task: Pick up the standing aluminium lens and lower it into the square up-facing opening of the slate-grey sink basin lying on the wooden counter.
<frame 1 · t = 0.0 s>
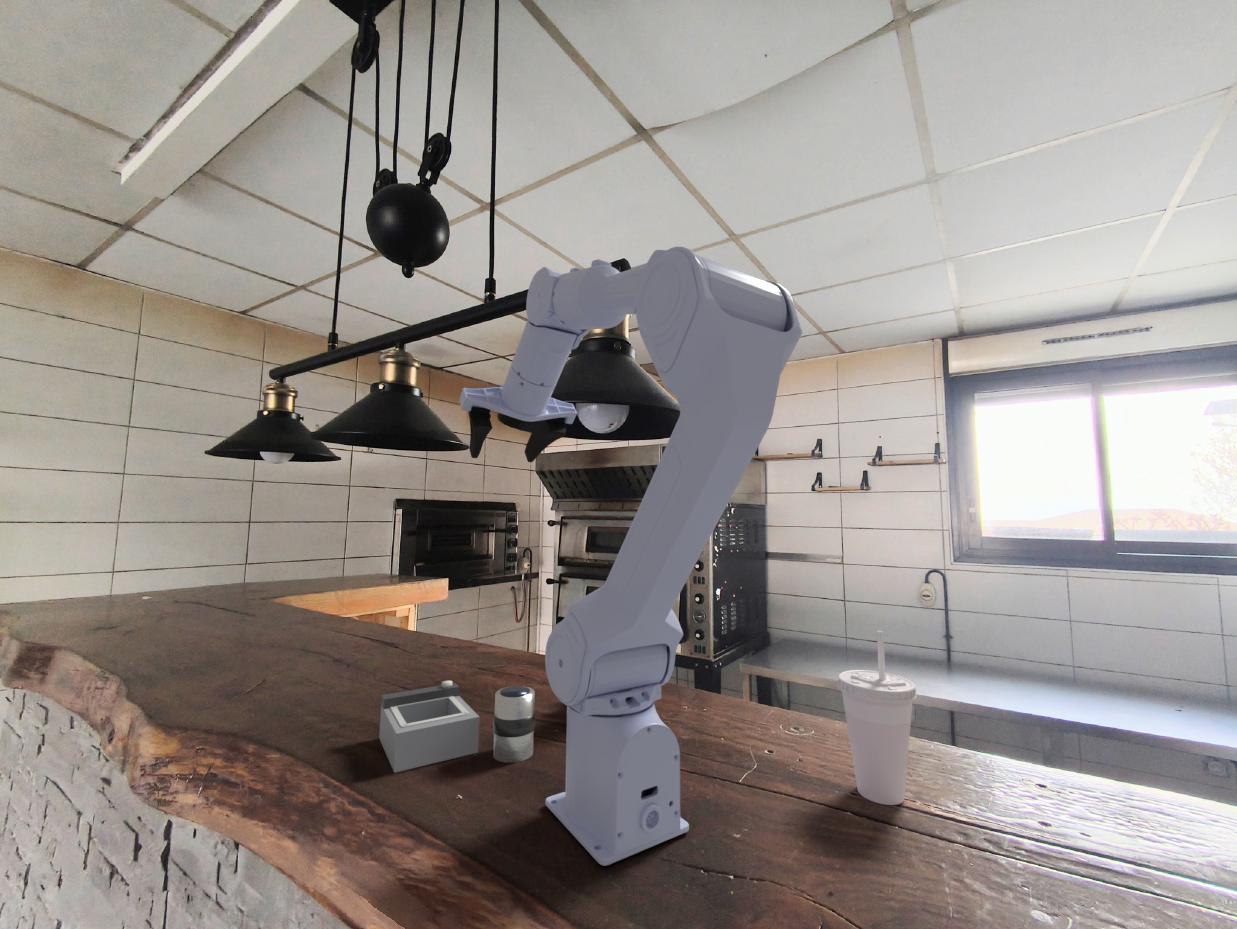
hand: (501, 455, 68), 32 cm above the table, tool tilted 50°, fingers open, 7 cm apart
lens: (513, 753, 52), on the table
smoothie: (880, 795, 45), on the table
grey sink basin: (427, 745, 54), on the table
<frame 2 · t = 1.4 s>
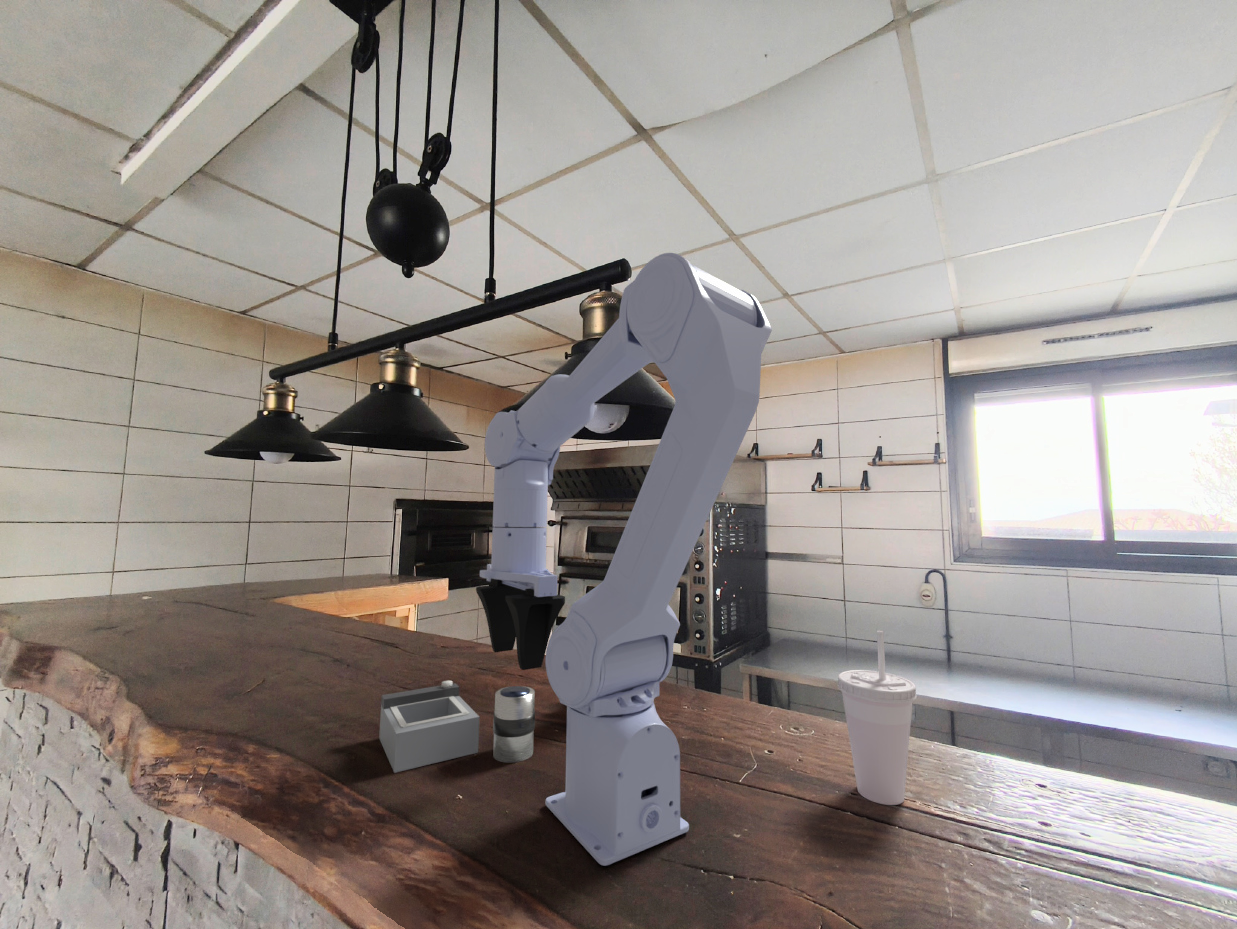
hand: (516, 658, 53), 9 cm above the table, tool pointing down, fingers open, 7 cm apart
nothing on the table moved.
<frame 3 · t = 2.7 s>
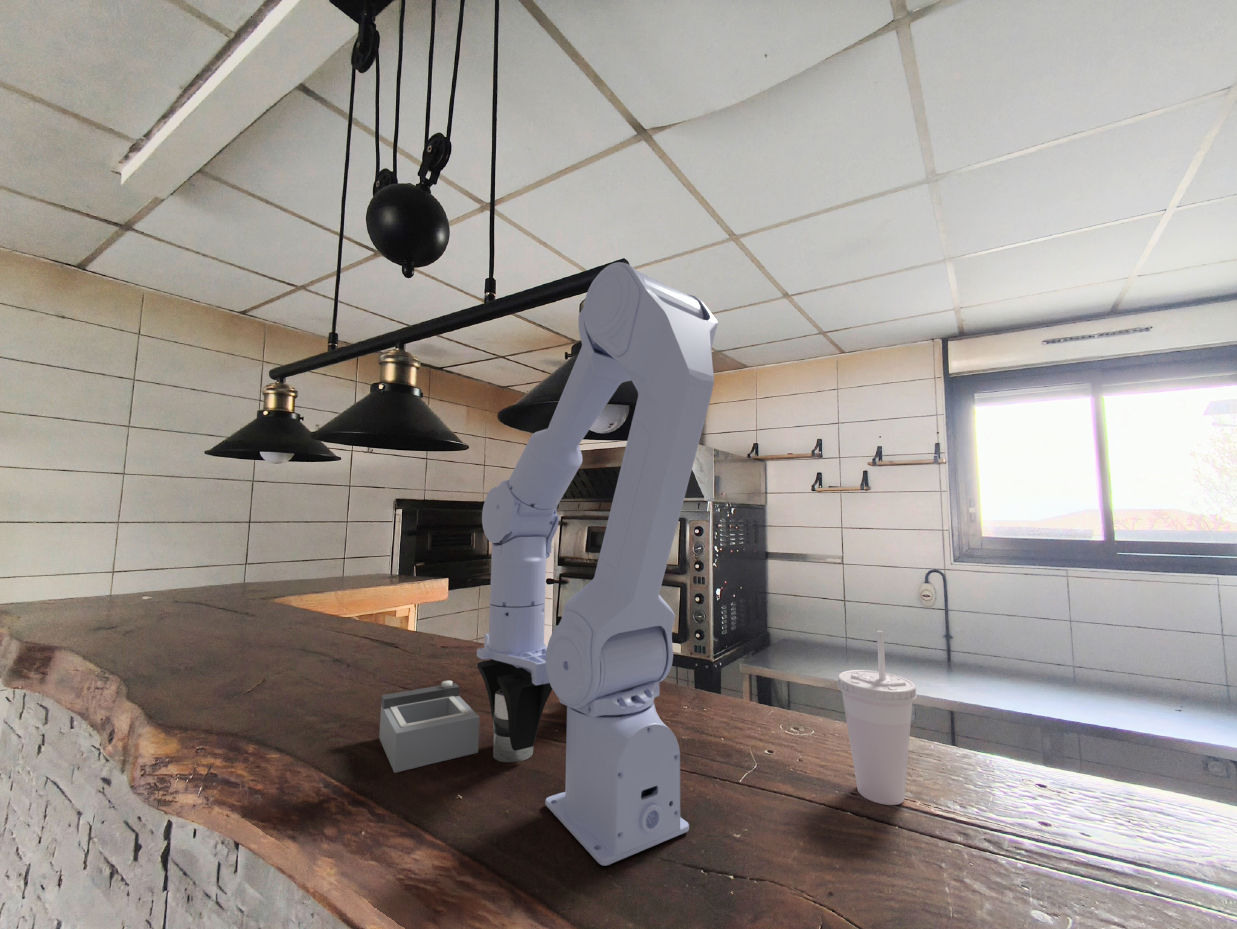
hand: (513, 738, 53), 1 cm above the table, tool pointing down, fingers closed on lens, 4 cm apart
lens: (513, 753, 52), on the table, touching gripper
everything else where it was.
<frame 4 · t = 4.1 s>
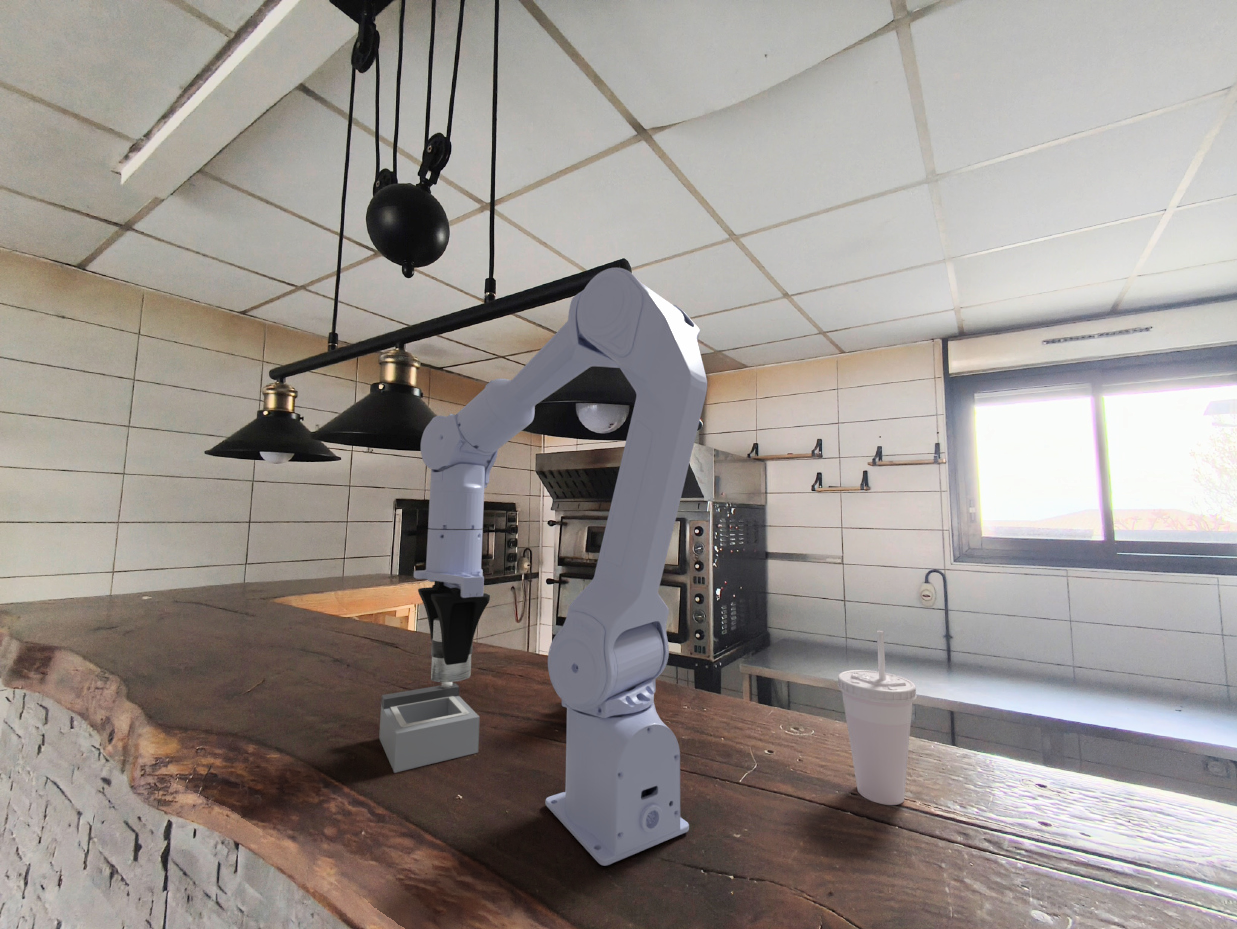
hand: (449, 657, 55), 9 cm above the table, tool pointing down, fingers closed on lens, 4 cm apart
lens: (451, 676, 55), point 7 cm above the table, touching gripper
everything else where it was.
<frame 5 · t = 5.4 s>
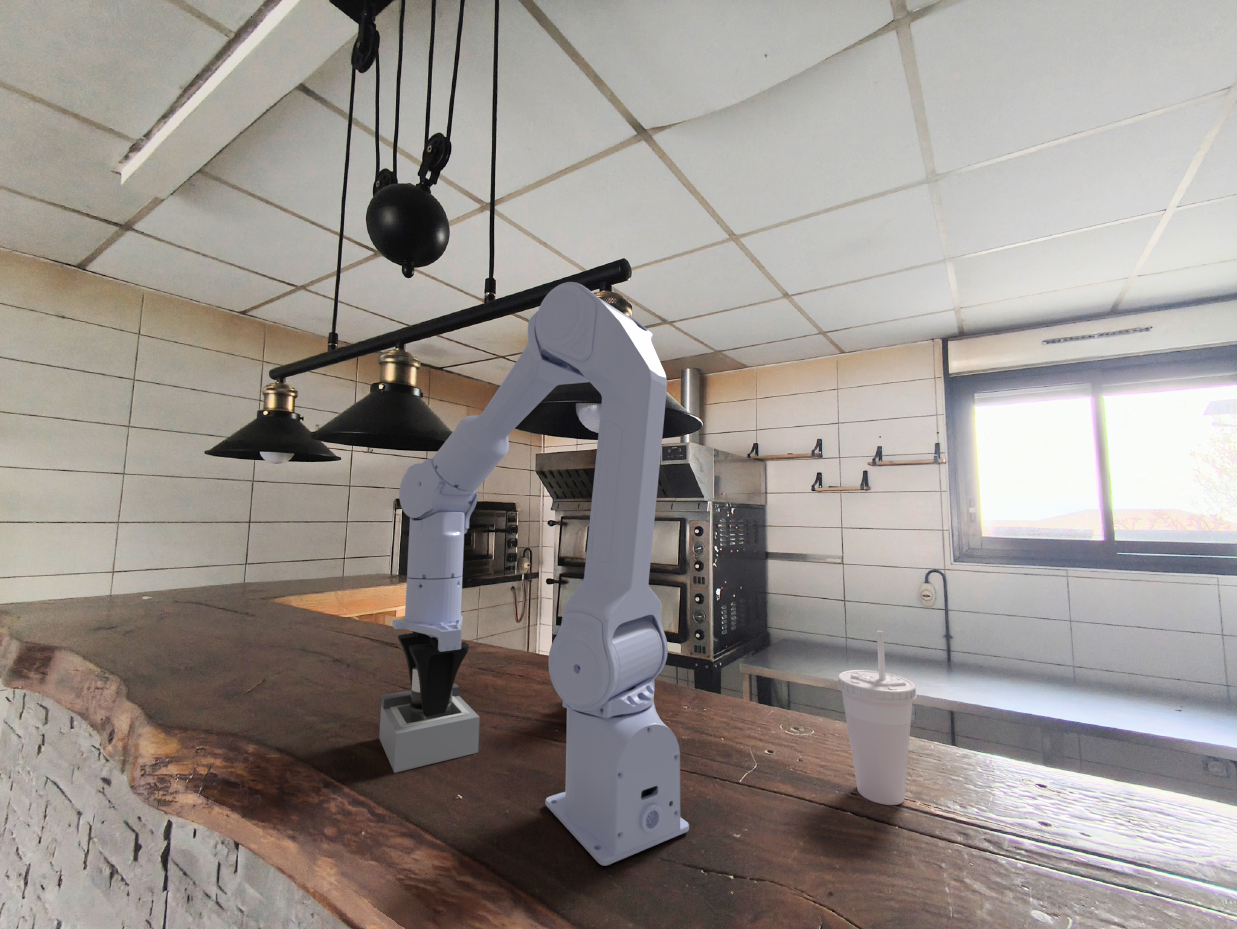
hand: (429, 706, 54), 4 cm above the table, tool pointing down, fingers closed on lens, 4 cm apart
lens: (430, 726, 54), point 2 cm above the table, touching gripper
everything else where it was.
when the fingers open (4 cm above the table, at t = 5.7 s): lens drops 2 cm, resting in grey sink basin.
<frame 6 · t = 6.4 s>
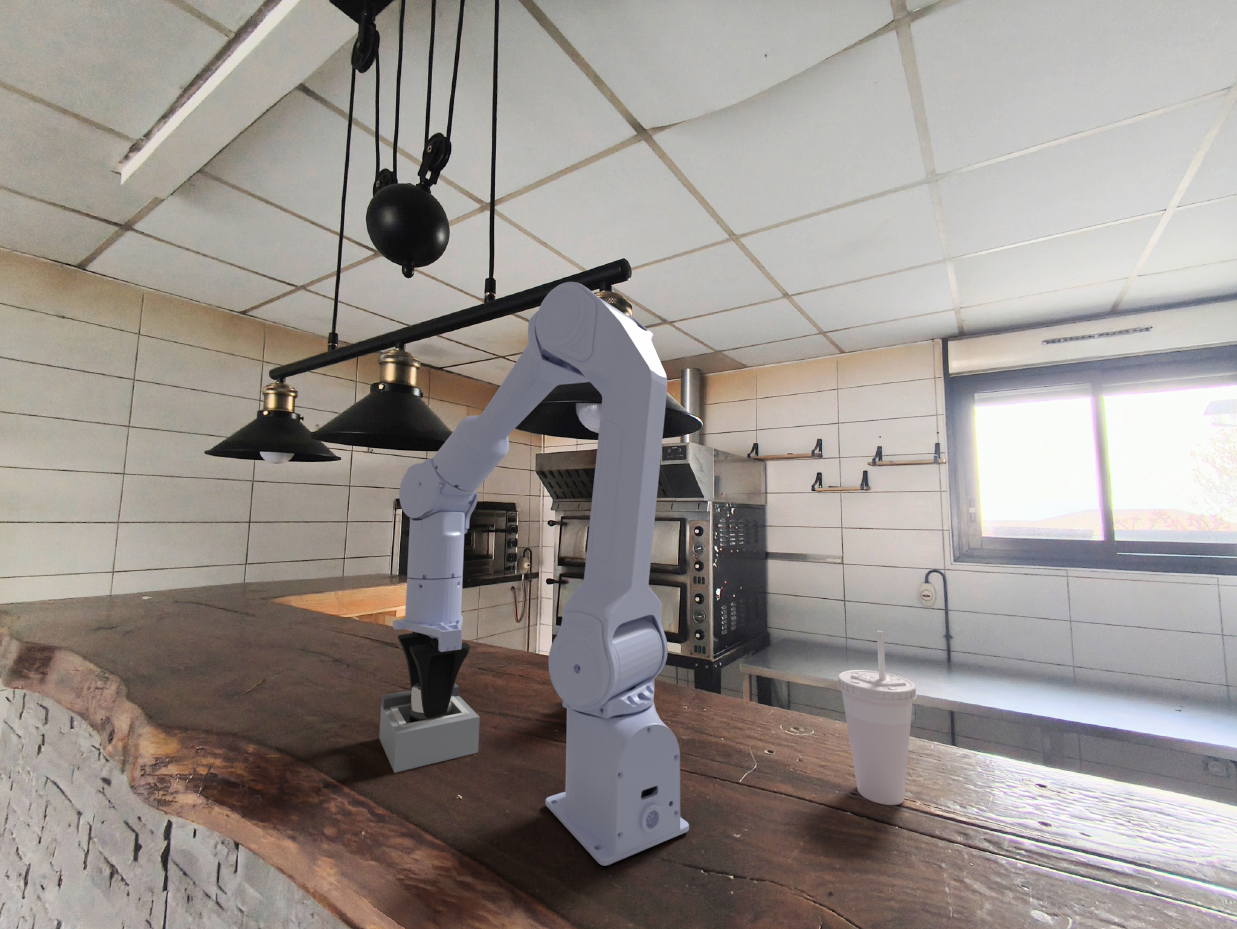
hand: (429, 707, 54), 4 cm above the table, tool pointing down, fingers open, 4 cm apart
lens: (429, 745, 54), resting in grey sink basin
everything else where it was.
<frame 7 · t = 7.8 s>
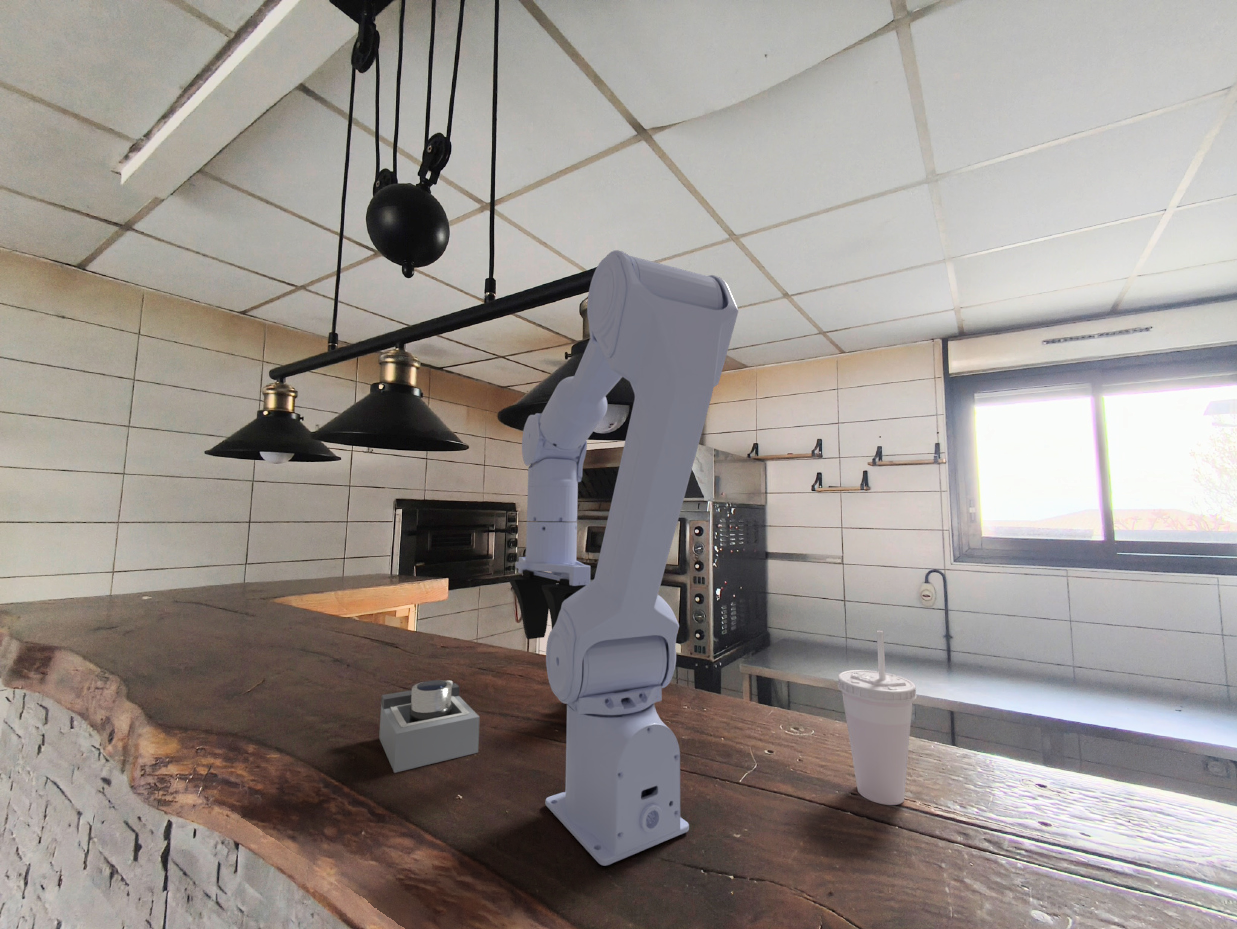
hand: (549, 644, 57), 10 cm above the table, tool pointing down, fingers open, 7 cm apart
nothing on the table moved.
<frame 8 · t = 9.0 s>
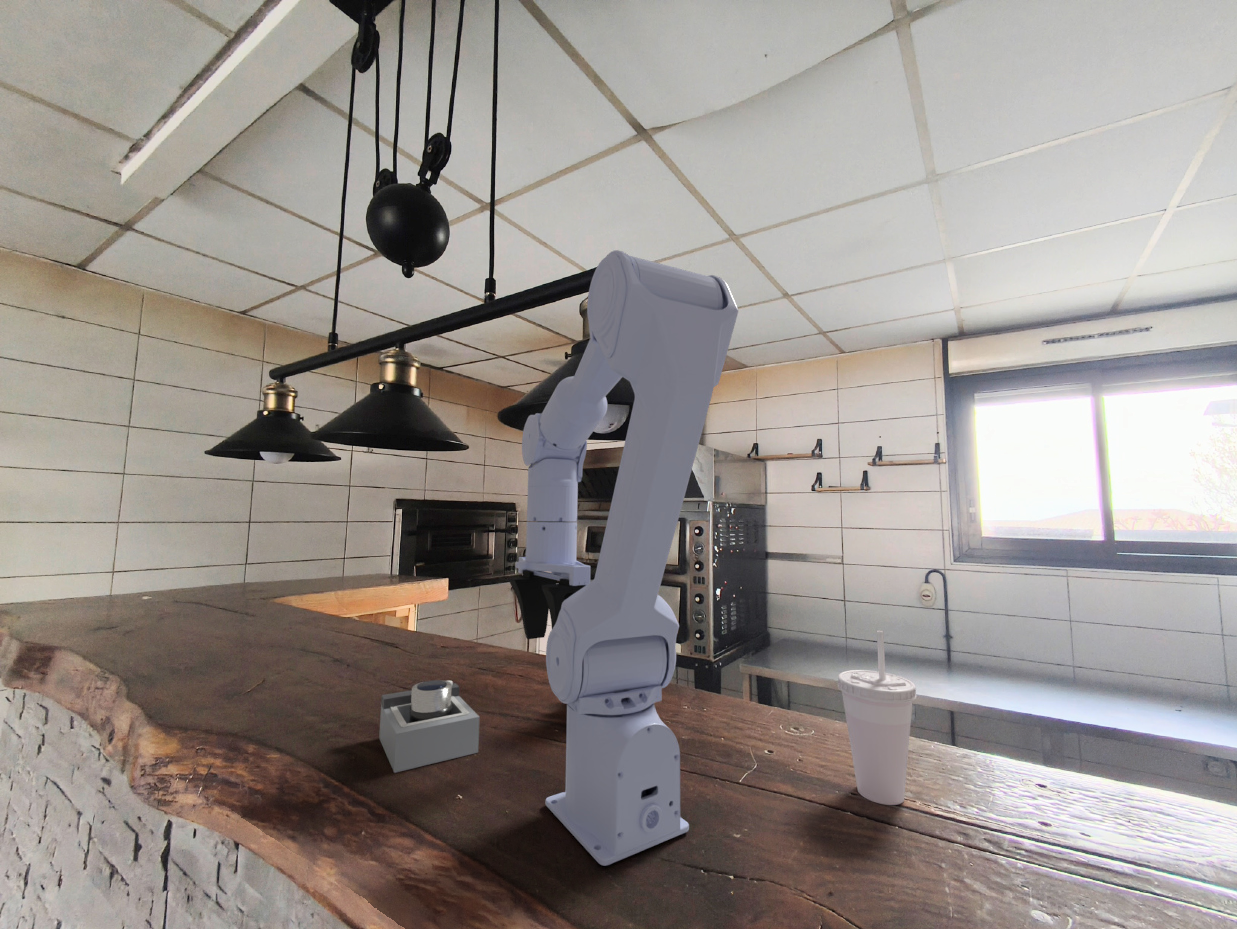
hand: (549, 644, 57), 10 cm above the table, tool pointing down, fingers open, 7 cm apart
nothing on the table moved.
at the end: lens 0.2 cm off-centre on the grey sink basin, point 0.0 cm above the grey sink basin's base; lens tilted 0°; the gripper is holding nothing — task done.
